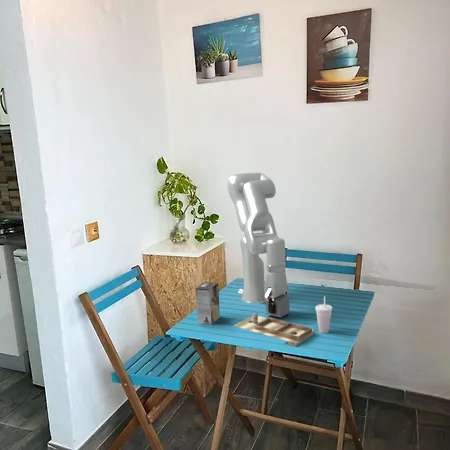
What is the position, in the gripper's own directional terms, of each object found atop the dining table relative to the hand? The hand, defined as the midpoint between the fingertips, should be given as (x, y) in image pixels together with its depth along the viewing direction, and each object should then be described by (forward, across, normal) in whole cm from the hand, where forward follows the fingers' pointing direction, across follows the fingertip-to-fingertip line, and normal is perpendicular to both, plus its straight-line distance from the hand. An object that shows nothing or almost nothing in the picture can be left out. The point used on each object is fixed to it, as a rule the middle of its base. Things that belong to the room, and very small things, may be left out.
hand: (277, 309), depth 182 cm
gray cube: (+1, 0, 0) cm, 1 cm away
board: (+4, +12, +6) cm, 14 cm away
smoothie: (+4, +1, +22) cm, 22 cm away
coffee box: (+4, +20, -20) cm, 29 cm away
